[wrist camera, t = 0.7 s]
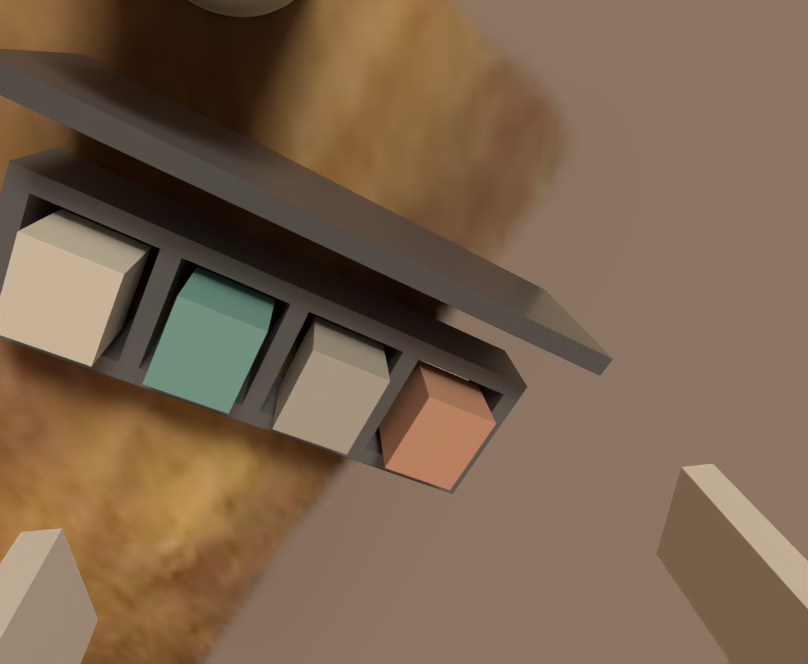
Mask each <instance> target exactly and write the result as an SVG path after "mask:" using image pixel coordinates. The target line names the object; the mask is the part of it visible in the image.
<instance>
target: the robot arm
mask: <svg viewBox="0 0 808 664" xmlns="http://www.w3.org/2000/svg"><path fill="white" fill-rule="evenodd" d="M657 555H658V557H659V558H660V560H661V561H662V563H663V564H664V566H665V567H666V569H667V570H668V572H669V573H670V574H671V576H672V577H673V579H674V580H675V582H676V583H677V585H678V586H679V588H680V589H681V591H682V592H683V594H684V595H685V597H686V598H687V599H688V601H689V602H690V604H691V605H692V607H693V608H694V610H695V611H696V613H697V614H698V616H699V617H700V618H701V620H702V622H703V623H704V624H705V626H706V627H707V629H708V630H709V632H710V633H711V635H712V636H713V638H714V639H715V641H716V642H717V644H718V645H719V646H720V648H721V650H722V651H723V652H724V654H725V655H726V657H727V658H728V660H729V661H730V663H731V664H808V561H807V560H806V559H805V558H804V557H803V556H802V555H801V554H800V553H799V552H798V551H797V550H796V549H795V548H794V547H793V546H792V545H791V544H790V543H789V542H788V541H787V540H786V539H785V538H784V537H783V536H782V535H781V533H779V531H778V530H777V529H776V528H775V527H774V526H773V525H772V524H771V523H770V522H769V521H768V520H767V519H766V518H765V517H764V516H763V515H762V514H761V513H760V512H759V511H758V510H757V509H756V508H755V507H754V506H753V505H752V504H751V503H750V502H749V501H748V500H747V499H746V498H745V497H744V496H743V495H742V494H741V492H740V491H739V490H738V489H736V487H735V486H734V485H733V484H732V483H731V482H730V481H729V480H728V479H727V478H726V477H725V476H724V475H723V474H722V473H721V472H720V471H719V470H718V469H717V468H716V467H715V466H714V465H713V464H707V465H698V466H687V467H681V470H680V474H679V477H678V481H677V484H676V488H675V491H674V495H673V498H672V502H671V505H670V509H669V512H668V516H667V519H666V522H665V526H664V529H663V533H662V537H661V540H660V543H659V547H658V550H657ZM97 622H98V618H97V616H96V613H95V611H94V608H93V606H92V603H91V600H90V598H89V595H88V593H87V590H86V588H85V585H84V582H83V580H82V577H81V575H80V572H79V570H78V567H77V564H76V562H75V559H74V557H73V554H72V552H71V549H70V546H69V544H68V541H67V539H66V536H65V534H64V531H63V528H60V529H50V530H39V531H29V532H21V533H20V534H19V536H18V537H17V539H16V540H15V542H14V543H13V545H12V547H11V548H10V550H9V551H8V553H7V554H6V556H5V557H4V559H3V561H2V562H1V564H0V664H81V661H82V659H83V656H84V654H85V651H86V649H87V647H88V644H89V642H90V639H91V637H92V634H93V632H94V629H95V627H96V624H97Z"/></svg>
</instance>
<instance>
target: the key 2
mask: <svg viewBox="0 0 808 664" xmlns="http://www.w3.org/2000/svg"><path fill="white" fill-rule="evenodd" d="M274 303H275V299H273V298H271V297H269V296H266V295H264V294H261V293H259V292H257V291H254V290H252V289H250V288H247V287H245V286H242V285H240V284H238V283H235V282H233V281H231V280H228V279H226V278H224V277H221V276H219V275H216V274H214V273H212V272H209V271H207V270H205V269H202V268H200V267H198V266H197V268H196V269H195V271H194V272H193V274H192V275H191V277H190V278H189V280H188V281H187V283H186V284H185V285H184V287H183V288H182V290H181V291H180V293H179V294H178V296H177V298H176V301H175V303H174V306H173V308H172V311H171V313H170V316H169V318H168V321H167V324H166V326H165V329H164V331H163V334H162V336H161V339H160V341H159V344H158V346H157V349H156V351H155V354H154V356H153V359H152V361H151V364H150V366H149V369H148V371H147V374H146V376H145V379H144V381H143V385H146V386H149V387H152V388H155V389H158V390H161V391H163V392H166V393H169V394H172V395H175V396H178V397H181V398H184V399H187V400H190V401H192V402H195V403H198V404H201V405H204V406H207V407H210V408H213V409H216V410H219V411H221V412H224V413H227V414H229V412H230V410H231V408H232V406H233V403H234V401H235V399H236V397H237V395H238V393H239V391H240V389H241V387H242V385H243V382H244V380H245V378H246V376H247V374H248V372H249V370H250V368H251V366H252V364H253V361H254V359H255V357H256V355H257V353H258V351H259V349H260V347H261V345H262V343H263V340H264V338H265V336H266V334H267V332H268V328H269V324H270V320H271V315H272V311H273V307H274Z"/></svg>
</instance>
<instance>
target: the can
mask: <svg viewBox="0 0 808 664" xmlns="http://www.w3.org/2000/svg"><path fill="white" fill-rule="evenodd" d="M188 1H190V2H191V3H193V4H195V5H197V6H199V7H201V8H203V9H206V10H208V11H211V12H214V13H218V14H222V15H226V16H233V17H254V16H260V15H264V14H268V13H271V12H274V11H276V10H279V9H281V8H283V7H284V6H286V5H288V4H289V3H291V2H292V1H294V0H188Z"/></svg>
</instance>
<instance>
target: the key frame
mask: <svg viewBox="0 0 808 664" xmlns="http://www.w3.org/2000/svg"><path fill="white" fill-rule="evenodd" d="M63 208H65V209H68V210H70V211H72V212H75V213H77V214H80V215H82V216H84V217H87V218H89V219H91V220H94V221H96V222H98V223H101V224H103V225H105V226H108V227H110V228H113V229H115V230H117V231H120V232H122V233H124V234H127V235H129V236H131V237H134V238H136V239H139V240H141V241H143V242H146V243H148V244H150V245H153V246H155V247H157V248H160V251H159V254H158V256H157V259H156V262H155V265H154V267H153V270H152V273H151V275H150V278H149V281H148V283H147V286H146V289H145V291H144V294H143V297H142V299H141V302H140V305H139V308H138V310H137V313H136V316H135V318H134V320H133V319H130V318H127V317H126V318H125V321H124V324H123V327H122V329H121V331H120V332H119V333H118V334H117V336H116V337H115V338H114V339H113V341H112V342H111V343H110V344H109V346H108V347H107V348H106V349H105V350H104V352H103V353H102V354H101V355H100V357H99V358H98V359H97V360H96V362H95V363H94V364H93V365H92V367H91V366H88V365H85V364H82V363H79V362H76V361H74V360H71V359H68V358H65V357H62V356H59V355H56V354H53V353H50V352H47V351H45V350H42V349H39V348H36V347H33V346H30V345H27V344H24V343H21V342H19V341H16V340H13V339H10V338H7V337H4V336H1V335H0V339H3V340H6V341H9V342H12V343H14V344H17V345H20V346H23V347H26V348H29V349H32V350H35V351H38V352H41V353H44V354H47V355H49V356H52V357H55V358H58V359H61V360H64V361H67V362H70V363H73V364H76V365H79V366H81V367H84V368H87V369H90V370H93V371H96V372H99V373H102V374H105V375H108V376H111V377H114V378H116V379H119V380H122V381H125V382H128V383H131V384H134V385H137V386H140V387H143V388H146V389H149V390H151V391H154V392H157V393H160V394H163V395H166V396H169V397H172V398H175V399H178V400H181V401H183V402H186V403H189V404H192V405H195V406H198V407H201V408H204V409H207V410H210V411H213V412H216V413H218V414H221V415H224V416H227V417H230V418H233V419H236V420H239V421H242V422H245V423H248V424H250V425H253V426H256V427H259V428H262V429H265V430H268V431H271V432H274V433H277V434H280V435H283V436H285V437H288V438H291V439H294V440H297V441H300V442H303V443H306V444H309V445H312V446H315V447H317V448H320V449H323V450H326V451H329V452H332V453H335V454H338V455H341V456H344V457H347V458H350V459H352V460H355V461H358V462H361V463H364V464H367V465H370V466H373V467H376V468H379V469H382V470H385V471H387V472H390V473H393V474H396V475H399V476H402V477H405V478H408V479H411V480H414V481H417V482H420V483H423V484H426V485H428V486H431V487H434V488H437V489H440V490H443V491H446V492H449V493H452V494H453V492H454V491H455V490H456V488H457V487H458V485H459V484H460V482H461V481H462V479H463V478H464V477H465V475H466V474H467V472H468V471H469V470H470V468H471V467H472V465H473V464H474V462H475V461H476V460H477V458H478V457H479V455H480V454H481V452H482V451H483V449H484V448H485V447H486V445H487V444H488V442H489V441H490V440H491V438H492V437H493V435H494V434H495V432H496V431H497V429H498V428H499V427H500V425H501V424H502V422H503V421H504V420H505V418H506V417H507V415H508V414H509V412H510V411H511V409H512V408H513V407H514V405H515V404H516V402H517V401H518V400H519V398H520V397H521V395H522V394H523V392H524V391H525V389H526V388H527V386H526V384H525V382H524V381H523V379H522V378H521V376H520V374H519V373H518V371H517V370H516V368H515V367H514V365H513V363H512V362H511V360H510V358H509V357H508V355H507V354H506V352H505V351H504V350H502V349H500V348H498V347H495V346H493V345H491V344H489V343H487V342H484V341H482V340H480V339H478V338H475V337H473V336H471V335H469V334H467V333H465V332H462V331H460V330H458V329H456V328H454V327H451V326H449V325H447V324H445V323H443V322H440V321H438V320H436V319H434V318H432V317H429V316H427V315H425V314H423V313H421V312H418V311H416V310H414V309H412V308H410V307H407V306H405V305H403V304H401V303H399V302H396V301H394V300H392V299H390V298H387V297H385V296H383V295H381V294H379V293H376V292H374V291H372V290H370V289H368V288H365V287H363V286H361V285H359V284H357V283H354V282H352V281H350V280H348V279H346V278H343V277H341V276H339V275H337V274H335V273H332V272H330V271H328V270H326V269H324V268H321V267H319V266H317V265H315V264H313V263H310V262H308V261H306V260H304V259H302V258H299V257H297V256H295V255H293V254H291V253H288V252H286V251H284V250H282V249H280V248H277V247H275V246H273V245H271V244H269V243H266V242H264V241H262V240H260V239H258V238H255V237H253V236H251V235H249V234H247V233H244V232H242V231H240V230H238V229H236V228H233V227H231V226H229V225H227V224H225V223H222V222H220V221H218V220H216V219H214V218H211V217H209V216H207V215H205V214H203V213H200V212H198V211H196V210H194V209H192V208H189V207H187V206H185V205H183V204H181V203H178V202H176V201H174V200H172V199H170V198H167V197H165V196H163V195H161V194H159V193H156V192H154V191H152V190H150V189H148V188H145V187H143V186H141V185H139V184H137V183H134V182H132V181H130V180H128V179H126V178H123V177H121V176H119V175H117V174H115V173H112V172H110V171H108V170H106V169H104V168H101V167H99V166H97V165H95V164H93V163H90V162H88V161H86V160H84V159H82V158H79V157H77V156H75V155H73V154H71V153H68V152H66V151H64V150H62V149H60V148H54V149H50V150H47V151H43V152H39V153H36V154H32V155H29V156H25V157H22V158H18V159H15V160H11V161H9V164H8V168H7V172H6V176H5V180H4V184H3V188H2V192H1V196H0V295H1V291H2V288H3V284H4V280H5V277H6V273H7V269H8V265H9V262H10V258H11V254H12V250H13V247H14V243H15V239H16V235H17V232H18V231H19V230H21V229H23V228H25V227H27V226H29V225H31V224H33V223H35V222H37V221H39V220H41V219H43V218H45V217H47V216H49V215H50V214H52V213H54V212H56V211H58V210H60V209H63ZM190 262H193V263H195V264H197V265H200V266H202V267H205V268H207V269H209V270H212V271H214V272H216V273H219V274H221V275H223V276H226V277H228V278H230V279H233V280H235V281H238V282H240V283H242V284H245V285H247V286H249V287H252V288H254V289H256V290H259V291H261V292H264V293H266V294H268V295H271V296H273V297H275V298H278V299H280V300H282V301H283V302H282V304H281V306H280V308H279V310H278V312H277V315H276V317H275V319H274V321H273V323H272V325H271V327H270V329H269V331H268V333H267V336H266V338H265V340H264V342H263V344H262V346H261V348H260V350H259V352H258V354H257V357H256V359H255V361H254V363H253V365H252V366H251V368H250V370H249V372H248V374H247V376H246V378H245V380H244V382H243V385H242V387H241V389H240V391H239V393H238V395H237V397H236V399H235V401H234V403H233V406H232V408H231V410H230V412H229V414H227V413H224V412H221V411H219V410H216V409H213V408H210V407H207V406H204V405H201V404H198V403H195V402H192V401H190V400H187V399H184V398H181V397H178V396H175V395H172V394H169V393H166V392H163V391H161V390H158V389H155V388H152V387H149V386H146V385H143V381H144V379H145V376H146V374H147V371H148V369H149V366H150V364H151V361H152V359H153V356H154V354H155V351H156V349H157V346H158V344H159V341H160V339H161V336H162V334H163V329H164V327H165V324H166V322H167V319H168V317H169V314H170V312H171V309H172V307H173V304H174V302H175V299H176V296H177V294H178V291H179V289H180V286H181V284H182V281H183V279H184V276H185V274H186V271H187V269H188V266H189V264H190ZM309 312H311V313H313V314H315V315H318V316H320V317H322V318H325V319H327V320H330V321H332V322H334V323H337V324H339V325H341V326H344V327H346V328H348V329H351V330H353V331H355V332H358V333H360V334H363V335H365V336H367V337H370V338H372V339H374V340H377V341H379V342H381V343H380V344H382V345H383V346H384V352H385V357H386V362H387V367H388V372H389V377H390V382H389V384H388V386H387V387H386V389H385V391H384V392H383V394H382V396H381V398H380V399H379V401H378V403H377V404H376V406H375V408H374V409H373V411H372V413H371V415H370V416H369V418H368V420H367V421H366V423H365V425H364V426H363V428H362V430H361V431H360V433H359V435H358V437H357V438H356V440H355V442H354V443H353V445H352V447H351V448H350V450H349V452H348V454H347V455H346V454H343V453H340V452H337V451H334V450H332V449H329V448H326V447H323V446H320V445H317V444H314V443H311V442H308V441H305V440H303V439H300V438H297V437H294V436H291V435H288V434H285V433H282V432H279V431H276V430H274V429H272V428H273V422H274V415H275V409H276V403H277V397H278V391H279V387H280V385H281V383H282V381H283V379H284V377H283V376H280V375H278V373H279V371H280V369H281V367H282V365H283V363H284V361H285V359H286V357H287V355H288V353H289V351H290V349H291V347H292V345H293V343H294V341H295V339H296V337H297V335H298V333H299V331H300V329H301V327H302V325H303V323H304V321H305V319H306V317H307V315H308V313H309ZM419 359H422V360H424V361H426V362H429V363H431V364H433V365H436V366H438V367H441V368H443V369H445V370H447V371H450V372H453V373H455V374H457V375H459V376H462V377H464V378H467V379H469V382H472V383H474V384H477V385H478V386H479V388H480V390H481V392H482V395H483V397H484V399H485V401H486V403H487V405H488V407H489V409H490V412H491V414H492V416H493V418H494V420H495V422H496V425H495V426H494V428H493V429H492V430H491V432H490V433H489V435H488V436H487V438H486V439H485V440H484V442H483V443H482V445H481V446H480V448H479V449H478V451H477V452H476V453H475V455H474V456H473V458H472V459H471V461H470V462H469V463H468V465H467V466H466V468H465V469H464V471H463V472H462V474H461V475H460V476H459V478H458V479H457V481H456V482H455V484H454V485H453V486H452V488H451V489H450V490H448V489H445V488H442V487H439V486H436V485H433V484H430V483H427V482H424V481H421V480H419V479H416V478H413V477H410V476H407V475H404V474H401V473H398V472H395V471H392V470H390V469H387V468H385V465H384V458H383V451H382V444H381V436H380V429H379V425H380V423H381V422H382V420H383V418H384V417H385V415H386V413H387V412H388V410H389V408H390V407H391V405H392V403H393V402H394V400H395V398H396V397H397V395H398V393H399V392H400V390H401V388H402V387H403V385H404V383H405V382H406V380H407V378H408V377H409V375H410V373H411V372H412V370H413V368H414V367H415V365H416V363H417V362H418V360H419Z"/></svg>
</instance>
